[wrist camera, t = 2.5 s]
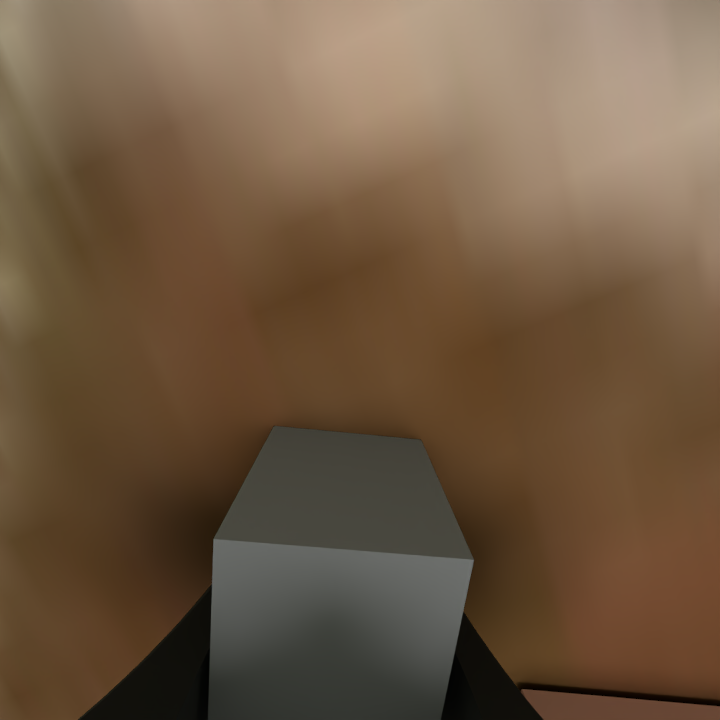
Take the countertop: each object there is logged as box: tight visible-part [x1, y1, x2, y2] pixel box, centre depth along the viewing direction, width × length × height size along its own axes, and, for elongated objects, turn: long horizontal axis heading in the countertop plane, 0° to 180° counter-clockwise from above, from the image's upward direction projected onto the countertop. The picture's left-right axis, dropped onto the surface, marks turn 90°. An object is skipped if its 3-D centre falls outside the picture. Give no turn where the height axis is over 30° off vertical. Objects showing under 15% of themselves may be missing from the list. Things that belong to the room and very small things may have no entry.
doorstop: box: [208, 426, 474, 720], centre depth 10 cm, size 9×4×5 cm, turn 173°
